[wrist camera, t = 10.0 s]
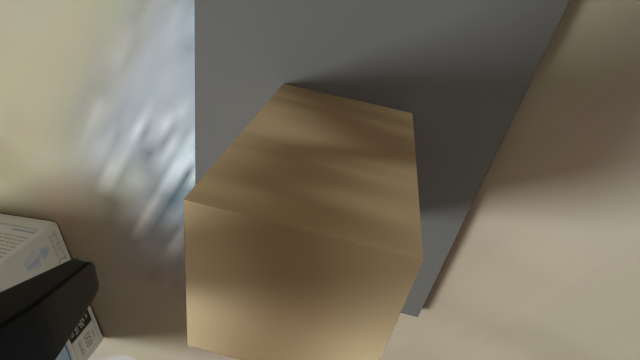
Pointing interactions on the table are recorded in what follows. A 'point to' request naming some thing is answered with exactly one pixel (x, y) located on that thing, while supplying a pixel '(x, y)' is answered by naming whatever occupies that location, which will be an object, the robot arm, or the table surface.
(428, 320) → the table surface
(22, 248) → the light bulb box
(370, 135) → the tan wooden block
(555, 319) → the table surface
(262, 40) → the mat
